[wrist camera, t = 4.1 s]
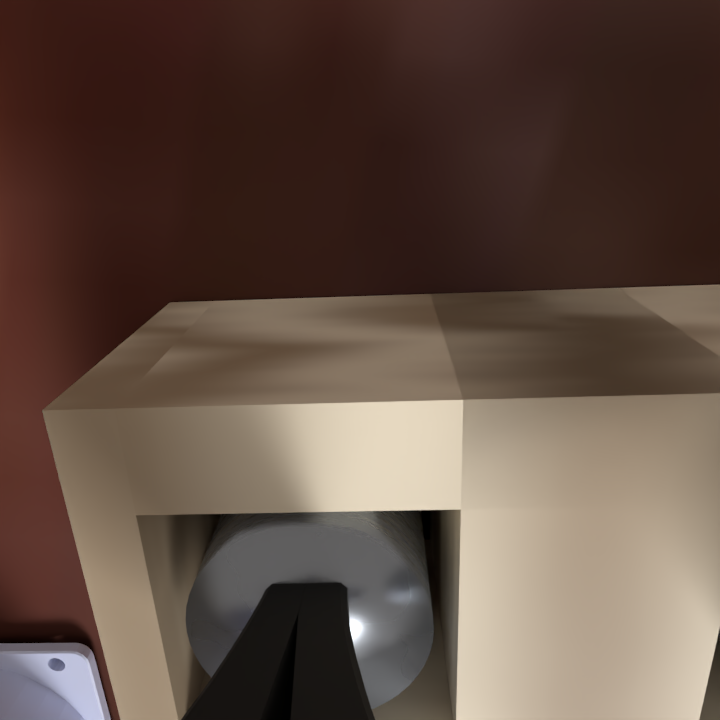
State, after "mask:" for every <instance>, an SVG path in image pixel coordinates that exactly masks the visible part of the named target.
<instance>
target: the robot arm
mask: <svg viewBox="0 0 720 720" xmlns="http://www.w3.org/2000/svg"><path fill="white" fill-rule="evenodd" d="M0 720H111V718H110V714H109V711H108V707H107V703H106V699H105V695H104V691H103V688H102V684H101V680H100V676H99V672H98V669H97V665H96V661H95V657H94V654H93V652H92V650H91V649H90V648H89V647H87V646H86V645H84V644H81V643H0ZM181 720H375V717H374V715H373V712H372V709H371V706H370V703H369V699H368V696H367V693H366V690H365V686H364V683H363V679H362V676H361V672H360V668H359V665H358V661H357V658H356V653H355V649H354V645H353V640H352V634H351V629H350V619H349V602H348V588H347V587H346V586H344V585H343V584H342V583H292V584H271V585H270V586H269V587H268V588H267V589H266V590H265V592H264V594H263V596H262V598H261V599H260V601H259V603H258V605H257V606H256V608H255V610H254V612H253V614H252V615H251V617H250V619H249V620H248V622H247V624H246V625H245V627H244V629H243V630H242V632H241V633H240V635H239V637H238V638H237V640H236V641H235V643H234V645H233V646H232V648H231V649H230V651H229V652H228V654H227V655H226V657H225V658H224V660H223V661H222V663H221V664H220V666H219V667H218V669H217V670H216V672H215V673H214V675H213V676H212V678H211V679H210V681H209V682H208V684H207V685H206V686H205V688H204V689H203V691H202V692H201V693H200V695H199V696H198V697H197V699H196V700H195V701H194V703H193V704H192V705H191V707H190V708H189V709H188V711H187V712H186V713H185V715H184V716H183V718H182V719H181Z"/></svg>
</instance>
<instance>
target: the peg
mask: <svg viewBox="0 0 720 720" xmlns="http://www.w3.org/2000/svg"><path fill="white" fill-rule="evenodd" d="M292 583H342V584H343V585H344V586H346V587H347V588H348V602H349V619H350V629H351V634H352V640H353V645H354V649H355V653H356V658H357V661H358V665H359V668H360V672H361V676H362V679H363V683H364V686H365V690H366V693H367V696H368V699H369V703H370V706H371V709H374V708H376V707H378V706H380V705H382V704H384V703H386V702H388V701H390V700H391V699H393V698H394V697H396V696H397V695H399V694H400V693H401V692H402V691H403V690H405V689H406V688H407V687H408V686H409V685H410V684H411V683H412V682H413V681H414V679H415V678H416V677H417V676H418V674H419V673H420V671H421V670H422V668H423V667H424V665H425V663H426V661H427V659H428V656H429V654H430V651H431V647H432V643H433V634H434V623H433V613H432V604H431V595H430V586H429V577H428V568H427V559H426V550H425V541H424V532H423V523H422V515H421V510H405V511H350V512H294V513H238V514H221V517H220V519H219V522H218V524H217V527H216V529H215V532H214V534H213V537H212V539H211V542H210V544H209V547H208V549H207V552H206V554H205V556H204V559H203V561H202V564H201V566H200V569H199V571H198V574H197V576H196V579H195V581H194V584H193V586H192V589H191V591H190V594H189V597H188V602H187V606H186V629H187V634H188V638H189V642H190V645H191V647H192V649H193V652H194V654H195V656H196V658H197V659H198V661H199V662H200V664H201V666H202V667H203V668H204V670H205V671H206V672H207V673H208V674H209V676H210V677H211V678H212V676H213V675H214V673H215V672H216V670H217V669H218V667H219V666H220V664H221V663H222V661H223V660H224V658H225V657H226V655H227V654H228V652H229V651H230V649H231V648H232V646H233V645H234V643H235V641H236V640H237V638H238V637H239V635H240V633H241V632H242V630H243V629H244V627H245V625H246V624H247V622H248V620H249V619H250V617H251V615H252V614H253V612H254V610H255V608H256V606H257V605H258V603H259V601H260V599H261V598H262V596H263V594H264V592H265V590H266V589H267V588H268V587H269V586H270V585H271V584H292Z"/></svg>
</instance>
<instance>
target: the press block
mask: <svg viewBox="0 0 720 720" xmlns="http://www.w3.org/2000/svg"><path fill="white" fill-rule="evenodd" d="M42 412H43V416H44V420H45V424H46V428H47V432H48V436H49V440H50V444H51V448H52V452H53V456H54V460H55V463H56V467H57V471H58V475H59V479H60V483H61V487H62V491H63V495H64V499H65V503H66V507H67V511H68V515H69V519H70V522H71V526H72V530H73V534H74V538H75V542H76V546H77V550H78V554H79V558H80V562H81V566H82V570H83V574H84V578H85V581H86V585H87V589H88V593H89V597H90V601H91V605H92V609H93V613H94V617H95V621H96V625H97V629H98V633H99V637H100V640H101V644H102V648H103V652H104V656H105V660H106V664H107V668H108V672H109V676H110V680H111V684H112V688H113V692H114V696H115V699H116V703H117V707H118V711H119V715H120V719H121V720H181V719H182V718H183V716H184V715H185V713H186V712H187V711H188V709H189V708H190V707H191V705H192V704H193V703H194V701H195V700H196V699H197V697H198V696H199V695H200V693H201V692H202V691H203V689H204V688H205V686H206V685H207V684H208V682H209V681H210V679H211V677H210V676H209V674H208V673H207V672H206V671H205V670H204V668H203V667H202V666H201V664H200V662H199V661H198V659H197V658H196V656H195V654H194V652H193V649H192V647H191V645H190V642H189V638H188V634H187V629H186V606H187V602H188V597H189V594H190V591H191V589H192V586H193V584H194V581H195V579H196V576H197V574H198V571H199V569H200V566H201V564H202V561H203V559H204V556H205V554H206V552H207V549H208V547H209V544H210V542H211V539H212V537H213V534H214V532H215V529H216V527H217V524H218V522H219V519H220V517H221V514H238V513H294V512H350V511H405V510H430V540H424V541H425V550H426V559H427V568H428V577H429V586H430V595H431V604H432V613H433V623H434V634H433V643H432V647H431V651H430V654H429V656H428V659H427V661H426V663H425V665H424V667H423V668H422V670H421V671H420V673H419V674H418V676H417V677H416V678H415V679H414V681H413V682H412V683H411V684H410V685H409V686H408V687H407V688H406V689H405V690H403V691H402V692H401V693H400V694H399V695H397V696H396V697H394V698H393V699H391V700H390V701H388V702H386V703H384V704H382V705H380V706H378V707H376V708H374V709H372V712H373V715H374V717H375V720H720V639H719V637H718V634H719V629H720V285H689V286H659V287H628V288H597V289H566V290H535V291H504V292H474V293H443V294H412V295H381V296H350V297H320V298H289V299H258V300H227V301H196V302H170V303H169V304H167V305H166V306H165V307H164V308H163V309H162V310H160V311H159V312H158V313H157V314H156V315H154V316H153V317H152V318H151V319H150V320H149V321H147V322H146V323H145V324H144V325H143V326H141V327H140V328H139V329H138V330H137V331H136V332H134V333H133V334H132V335H131V336H130V337H128V338H127V339H126V340H125V341H124V342H122V343H121V344H120V345H119V346H118V347H117V348H115V349H114V350H113V351H112V352H111V353H109V354H108V355H107V356H106V357H105V358H104V359H102V360H101V361H100V362H99V363H98V364H96V365H95V366H94V367H93V368H92V369H91V370H89V371H88V372H87V373H86V374H85V375H83V376H82V377H81V378H80V379H79V380H77V381H76V382H75V383H74V384H73V385H72V386H70V387H69V388H68V389H67V390H66V391H64V392H63V393H62V394H61V395H60V396H59V397H57V398H56V399H55V400H54V401H53V402H51V403H50V404H49V405H48V406H47V407H46V408H44V409H43V410H42Z"/></svg>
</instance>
